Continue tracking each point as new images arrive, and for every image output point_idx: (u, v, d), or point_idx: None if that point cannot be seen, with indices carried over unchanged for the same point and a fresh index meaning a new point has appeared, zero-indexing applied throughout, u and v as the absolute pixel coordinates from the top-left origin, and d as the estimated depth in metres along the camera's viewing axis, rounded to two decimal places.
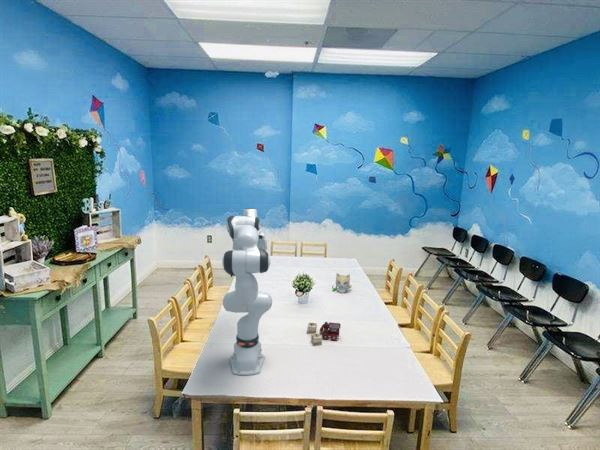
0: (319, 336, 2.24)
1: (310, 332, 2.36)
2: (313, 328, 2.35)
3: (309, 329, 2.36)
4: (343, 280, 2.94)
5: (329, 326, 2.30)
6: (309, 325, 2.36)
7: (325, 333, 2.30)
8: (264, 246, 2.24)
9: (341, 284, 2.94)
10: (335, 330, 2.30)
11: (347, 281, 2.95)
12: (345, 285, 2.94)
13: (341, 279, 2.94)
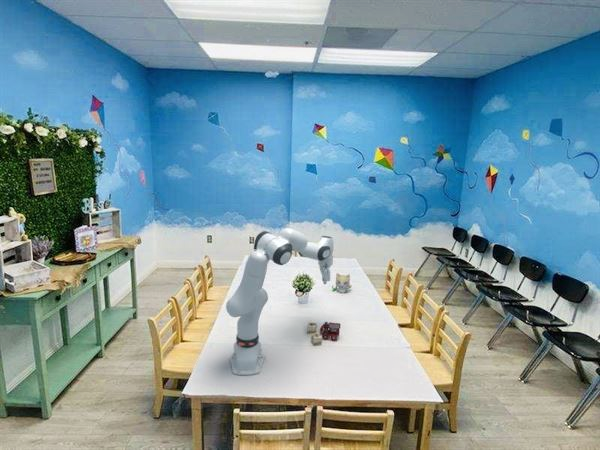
0: (319, 336, 2.24)
1: (310, 332, 2.36)
2: (313, 328, 2.35)
3: (309, 329, 2.36)
4: (343, 280, 2.94)
5: (329, 326, 2.30)
6: (309, 325, 2.36)
7: (325, 333, 2.30)
8: None
9: (341, 284, 2.94)
10: (335, 330, 2.30)
11: (347, 281, 2.95)
12: (345, 285, 2.94)
13: (341, 279, 2.94)
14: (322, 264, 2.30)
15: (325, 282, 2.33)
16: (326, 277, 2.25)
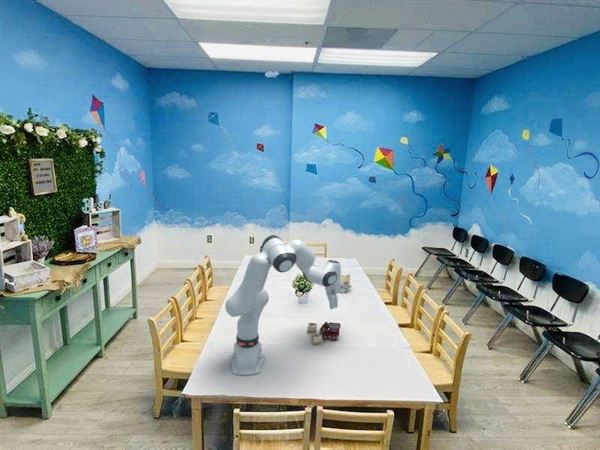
0: (319, 336, 2.24)
1: (310, 332, 2.36)
2: (313, 328, 2.35)
3: (309, 329, 2.36)
4: (343, 280, 2.94)
5: (329, 326, 2.30)
6: (309, 325, 2.36)
7: (325, 333, 2.30)
8: None
9: (341, 284, 2.94)
10: (335, 330, 2.30)
11: (347, 281, 2.95)
12: (345, 285, 2.94)
13: (341, 279, 2.94)
14: (329, 290, 2.21)
15: (332, 307, 2.26)
16: (333, 304, 2.17)
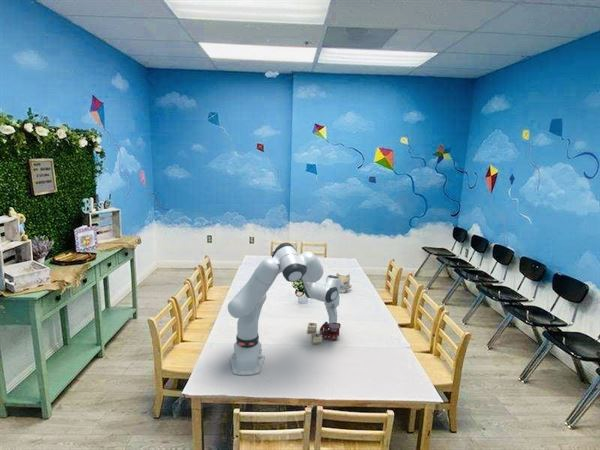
0: (319, 336, 2.24)
1: (310, 332, 2.36)
2: (313, 328, 2.35)
3: (309, 329, 2.36)
4: (343, 280, 2.94)
5: (329, 326, 2.30)
6: (309, 325, 2.36)
7: (325, 333, 2.30)
8: None
9: (341, 284, 2.94)
10: (335, 330, 2.30)
11: (347, 281, 2.95)
12: (345, 285, 2.94)
13: (341, 279, 2.94)
14: (328, 305, 2.23)
15: None
16: (333, 319, 2.19)
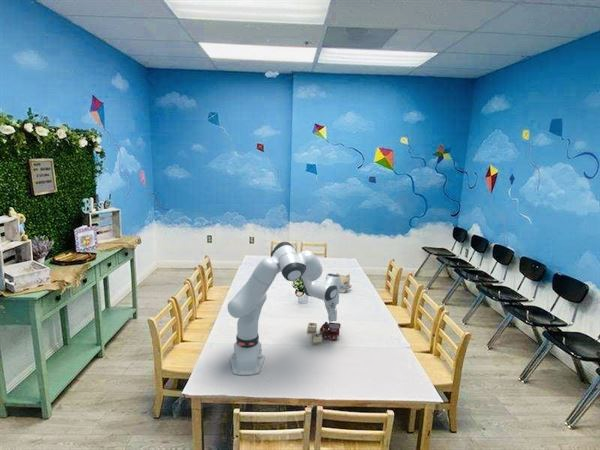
0: (319, 336, 2.24)
1: (310, 332, 2.36)
2: (313, 328, 2.35)
3: (309, 329, 2.36)
4: (343, 280, 2.94)
5: (329, 326, 2.30)
6: (309, 325, 2.36)
7: (325, 333, 2.30)
8: None
9: (341, 284, 2.94)
10: (335, 330, 2.30)
11: (347, 281, 2.95)
12: (345, 285, 2.94)
13: (341, 279, 2.94)
14: (328, 303, 2.23)
15: None
16: (332, 317, 2.19)
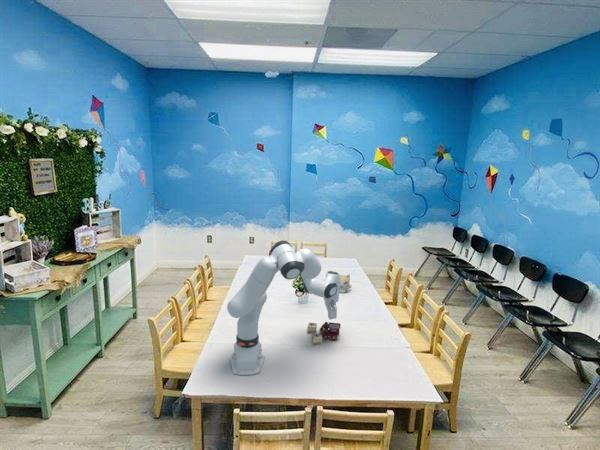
0: (319, 336, 2.24)
1: (310, 332, 2.36)
2: (313, 328, 2.35)
3: (309, 329, 2.36)
4: (343, 280, 2.94)
5: (329, 326, 2.30)
6: (309, 325, 2.36)
7: (325, 333, 2.30)
8: None
9: (341, 284, 2.94)
10: (335, 330, 2.30)
11: (347, 281, 2.95)
12: (345, 285, 2.94)
13: (341, 279, 2.94)
14: (328, 300, 2.23)
15: (330, 317, 2.28)
16: (332, 315, 2.19)
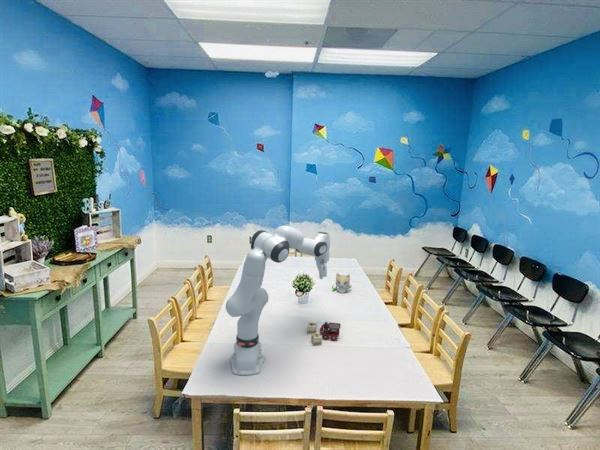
0: (319, 336, 2.24)
1: (310, 332, 2.36)
2: (313, 328, 2.35)
3: (309, 329, 2.36)
4: (343, 280, 2.94)
5: (329, 326, 2.30)
6: (309, 325, 2.36)
7: (325, 333, 2.30)
8: None
9: (341, 284, 2.94)
10: (335, 330, 2.30)
11: (347, 281, 2.95)
12: (345, 285, 2.94)
13: (341, 279, 2.94)
14: (319, 260, 2.31)
15: (321, 277, 2.36)
16: (323, 273, 2.26)
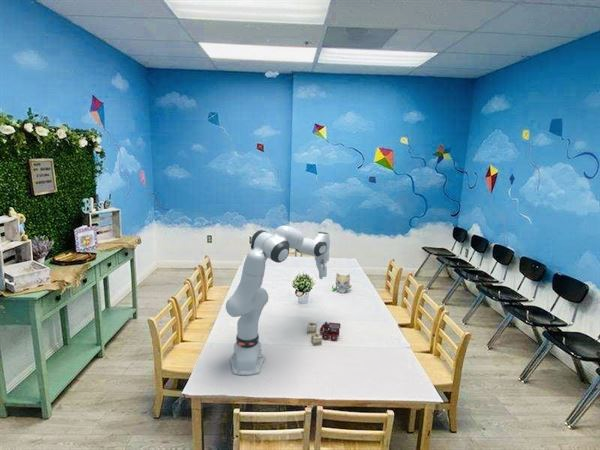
0: (319, 336, 2.24)
1: (310, 332, 2.36)
2: (313, 328, 2.35)
3: (309, 329, 2.36)
4: (343, 280, 2.94)
5: (329, 326, 2.30)
6: (309, 325, 2.36)
7: (325, 333, 2.30)
8: None
9: (341, 284, 2.94)
10: (335, 330, 2.30)
11: (347, 281, 2.95)
12: (345, 285, 2.94)
13: (341, 279, 2.94)
14: (318, 260, 2.31)
15: (321, 277, 2.36)
16: (322, 273, 2.26)
